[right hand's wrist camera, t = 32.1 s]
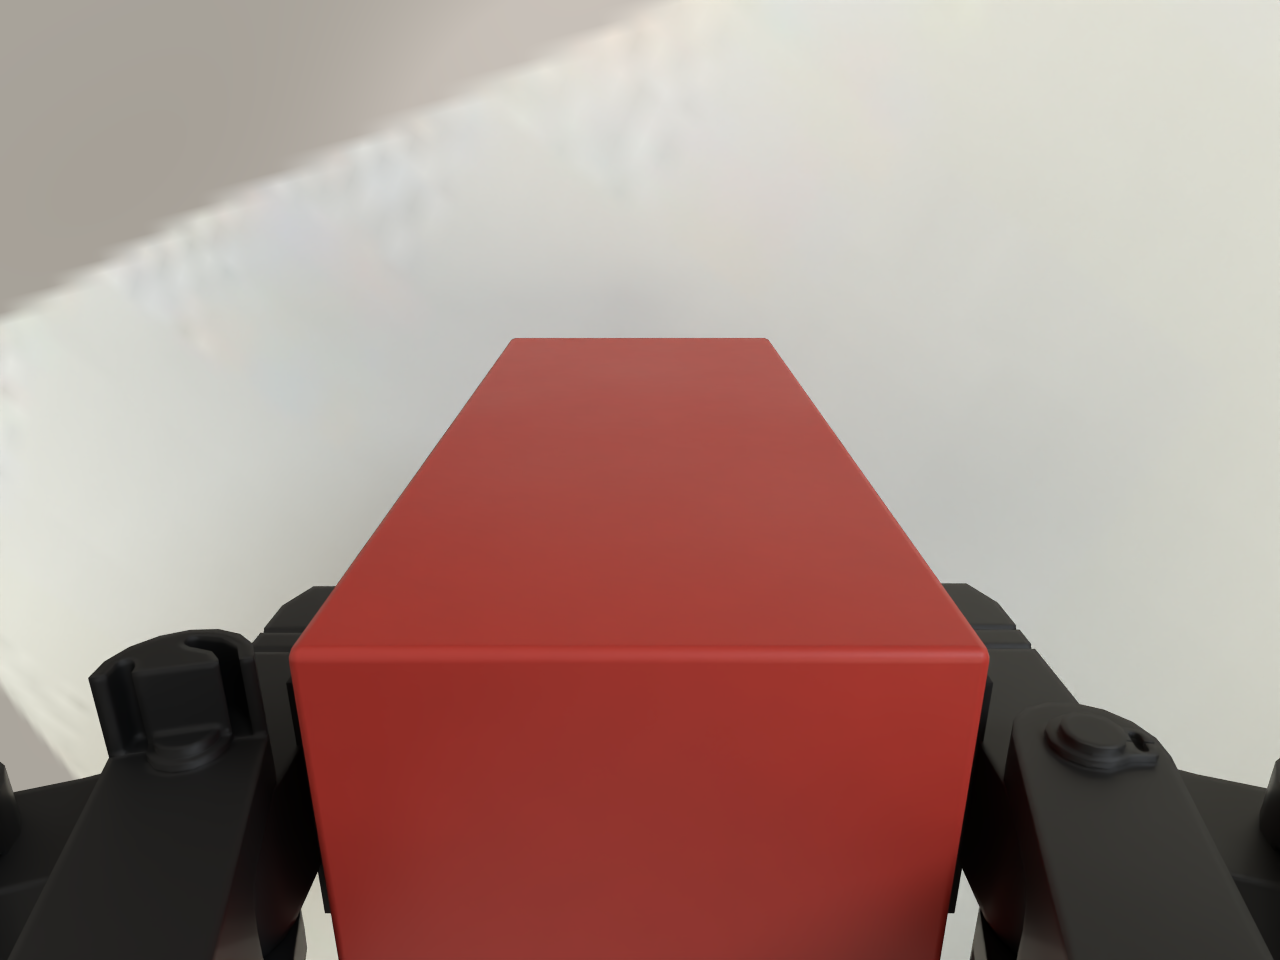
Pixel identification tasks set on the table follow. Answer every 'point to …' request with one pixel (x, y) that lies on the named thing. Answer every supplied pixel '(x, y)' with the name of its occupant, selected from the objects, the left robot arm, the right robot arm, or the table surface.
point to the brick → (639, 681)
